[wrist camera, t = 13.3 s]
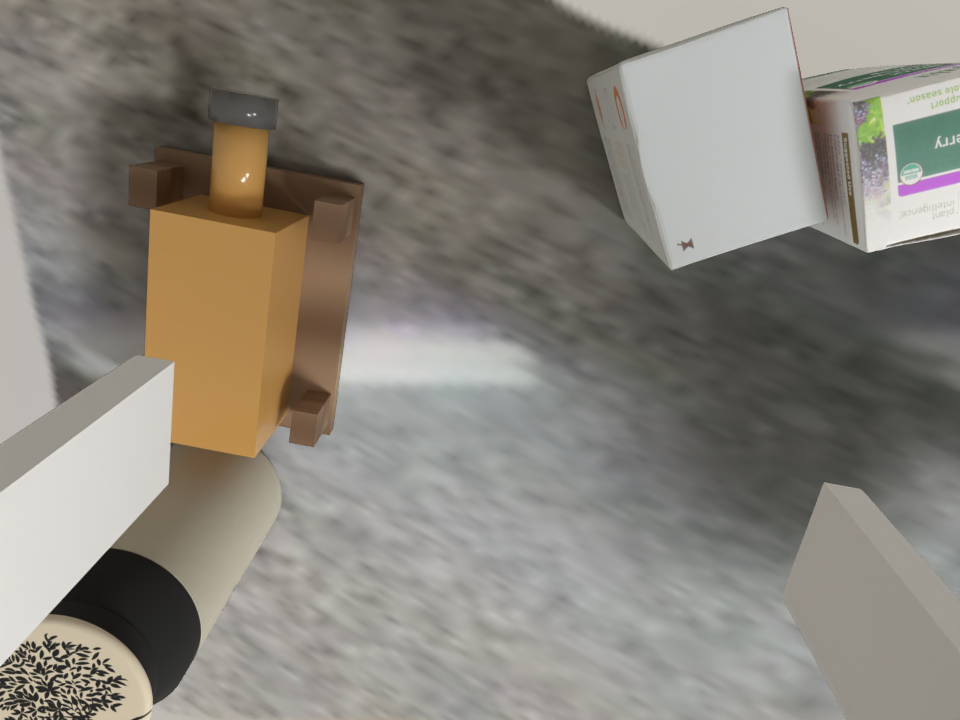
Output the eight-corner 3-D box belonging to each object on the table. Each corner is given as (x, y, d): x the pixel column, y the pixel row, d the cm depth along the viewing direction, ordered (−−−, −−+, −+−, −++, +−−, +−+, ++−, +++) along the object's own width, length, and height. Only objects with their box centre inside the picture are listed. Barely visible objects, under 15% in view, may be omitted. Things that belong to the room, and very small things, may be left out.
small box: (739, 187, 41) (833, 224, 29) (624, 224, 42) (667, 275, 30) (704, 33, 39) (790, 1, 26) (583, 76, 39) (612, 64, 27)
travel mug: (138, 451, 48) (-73, 643, 31) (250, 413, 47) (95, 592, 30) (194, 554, 50) (28, 787, 33) (303, 521, 49) (187, 745, 32)
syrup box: (847, 65, 39) (1028, 45, 25) (859, 180, 40) (1034, 220, 27) (735, 95, 39) (849, 92, 26) (751, 207, 41) (867, 259, 27)
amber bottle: (287, 413, 45) (254, 458, 40) (188, 394, 45) (141, 436, 40) (320, 105, 40) (287, 105, 34) (207, 83, 40) (155, 80, 34)
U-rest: (163, 145, 42) (126, 150, 38) (364, 183, 42) (347, 192, 38) (153, 395, 47) (119, 422, 43) (333, 428, 47) (315, 458, 43)
